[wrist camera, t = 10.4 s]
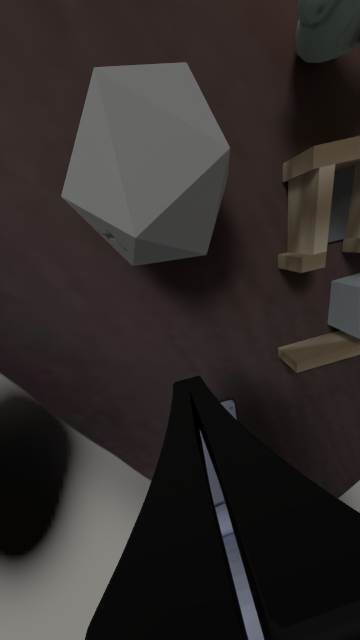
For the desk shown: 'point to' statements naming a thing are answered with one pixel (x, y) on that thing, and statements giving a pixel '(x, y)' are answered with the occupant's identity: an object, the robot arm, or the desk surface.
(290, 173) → the channel
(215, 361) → the desk surface
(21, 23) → the desk surface
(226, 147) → the die
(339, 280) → the grey block
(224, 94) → the desk surface
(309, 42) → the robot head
